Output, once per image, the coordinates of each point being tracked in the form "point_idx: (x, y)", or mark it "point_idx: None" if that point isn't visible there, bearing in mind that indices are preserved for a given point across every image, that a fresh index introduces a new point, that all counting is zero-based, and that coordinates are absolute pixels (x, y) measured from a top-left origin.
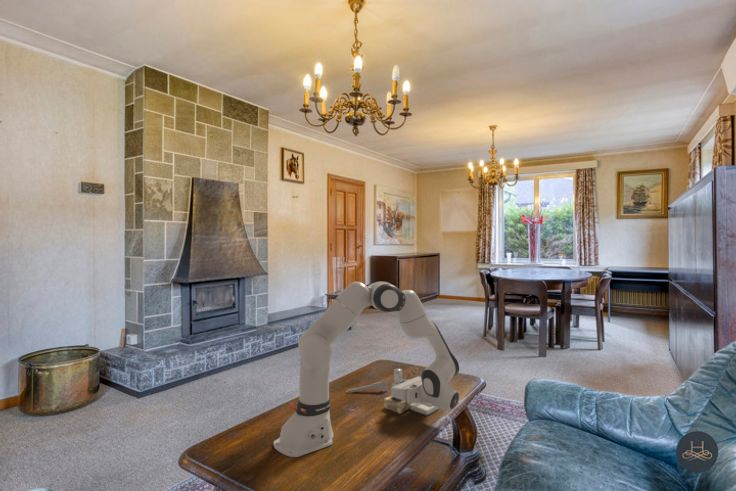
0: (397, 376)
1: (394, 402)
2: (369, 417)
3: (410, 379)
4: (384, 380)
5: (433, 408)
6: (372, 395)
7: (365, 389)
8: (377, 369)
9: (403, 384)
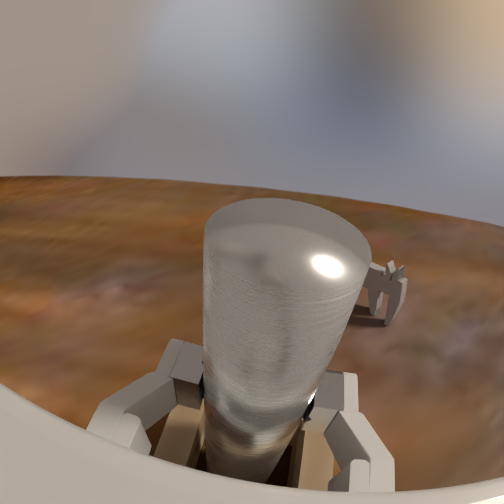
0: (204, 328)
1: (153, 456)
2: (46, 372)
3: (382, 501)
4: (397, 273)
5: None
6: None
7: None
8: (472, 235)
9: (69, 495)
